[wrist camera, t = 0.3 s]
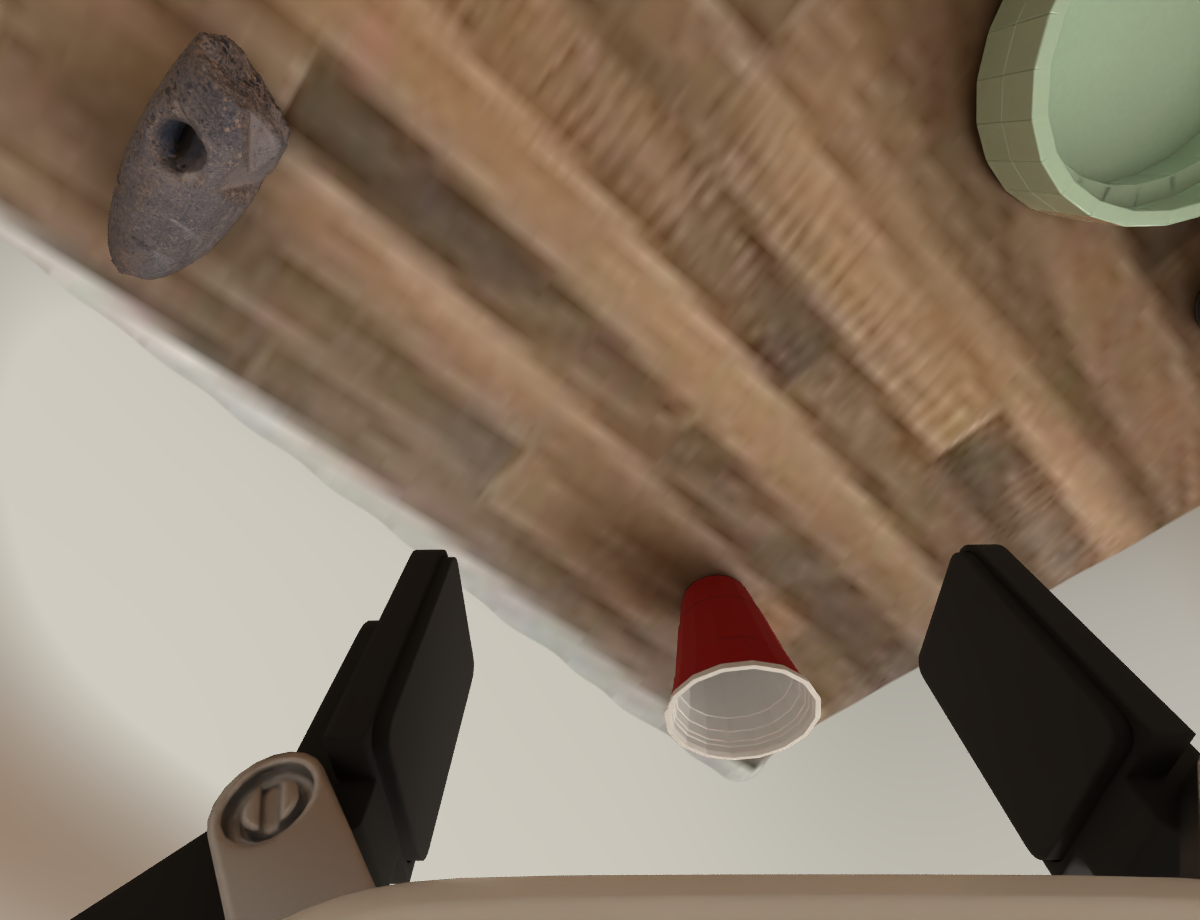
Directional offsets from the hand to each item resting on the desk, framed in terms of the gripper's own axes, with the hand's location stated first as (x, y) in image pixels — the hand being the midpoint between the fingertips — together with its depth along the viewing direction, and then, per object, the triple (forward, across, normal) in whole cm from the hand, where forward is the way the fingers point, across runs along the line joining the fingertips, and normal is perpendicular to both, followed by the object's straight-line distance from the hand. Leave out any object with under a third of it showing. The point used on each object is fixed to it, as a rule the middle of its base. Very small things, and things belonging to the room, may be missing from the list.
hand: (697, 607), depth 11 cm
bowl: (+30, -27, -12) cm, 43 cm away
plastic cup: (+31, -7, +27) cm, 41 cm away
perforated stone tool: (+31, +25, -7) cm, 40 cm away
